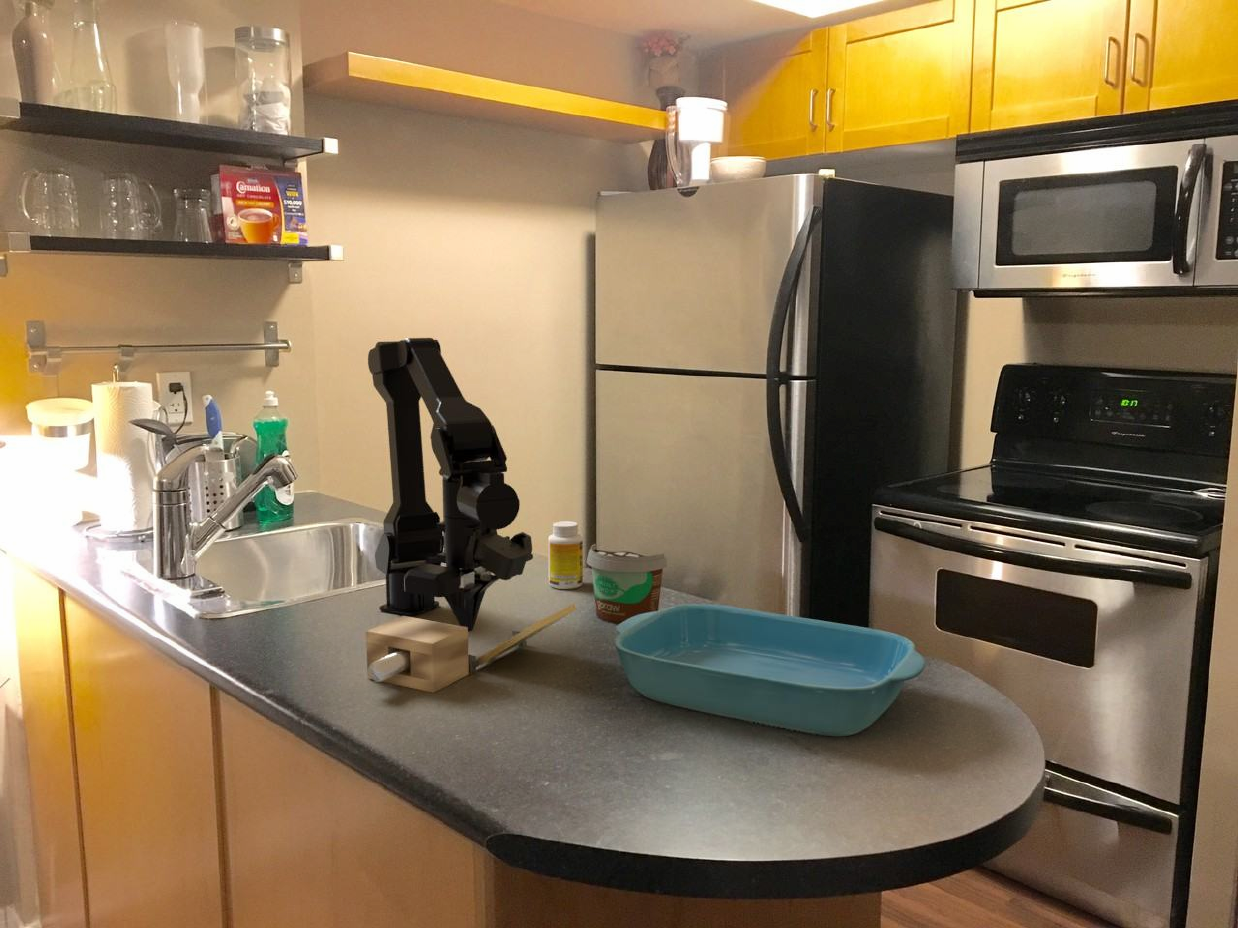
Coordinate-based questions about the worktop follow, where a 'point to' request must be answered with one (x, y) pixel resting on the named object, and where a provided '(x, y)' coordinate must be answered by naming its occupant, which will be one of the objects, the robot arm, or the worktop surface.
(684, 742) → the worktop surface
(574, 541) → the supplement bottle
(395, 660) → the hitch pin
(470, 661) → the keeper bracket
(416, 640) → the block
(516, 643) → the plate
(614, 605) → the food container
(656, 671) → the casserole dish
